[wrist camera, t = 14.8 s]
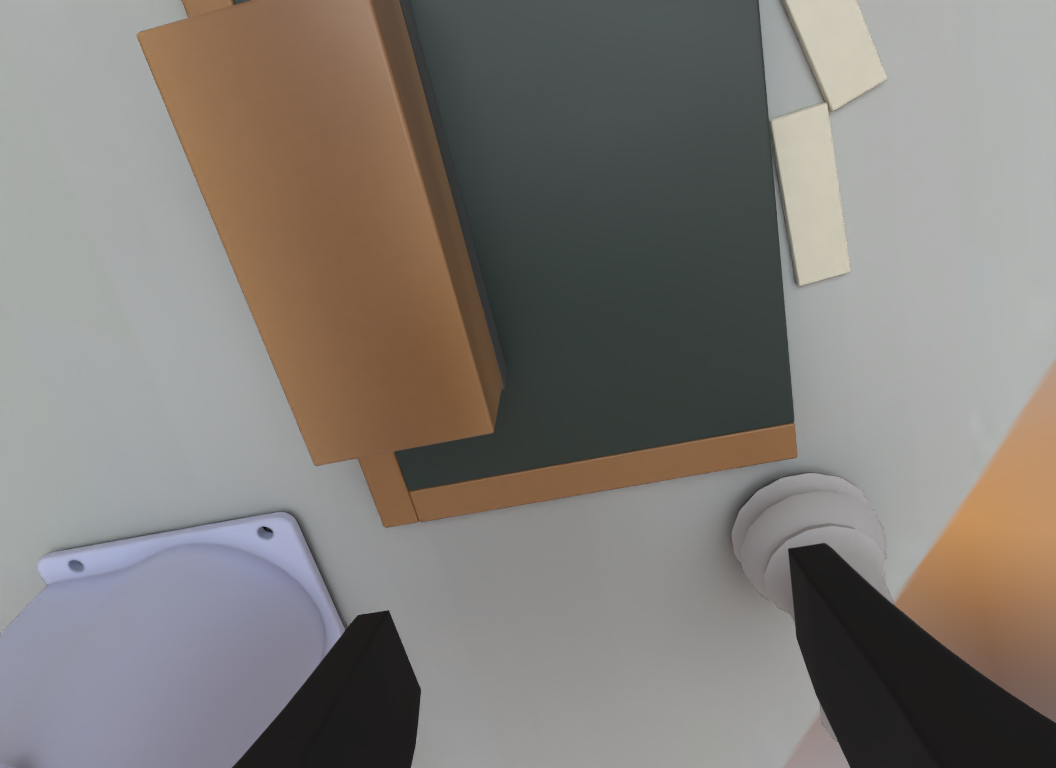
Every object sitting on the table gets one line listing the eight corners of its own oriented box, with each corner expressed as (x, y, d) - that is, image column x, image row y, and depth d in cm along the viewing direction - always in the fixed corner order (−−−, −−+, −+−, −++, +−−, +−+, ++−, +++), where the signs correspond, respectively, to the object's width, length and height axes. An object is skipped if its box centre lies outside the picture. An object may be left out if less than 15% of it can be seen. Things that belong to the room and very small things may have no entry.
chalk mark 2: (846, 268, 19) (851, 272, 19) (794, 283, 19) (799, 287, 19) (822, 101, 17) (827, 102, 17) (765, 119, 18) (770, 120, 17)
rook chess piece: (769, 445, 21) (877, 642, 14) (897, 491, 22) (1064, 703, 15) (704, 554, 23) (770, 777, 16) (823, 593, 24) (939, 827, 16)
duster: (359, 401, 20) (316, 474, 17) (223, 30, 16) (127, 20, 13) (508, 372, 20) (497, 441, 16) (404, -21, 16) (358, -45, 12)
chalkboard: (389, 514, 23) (383, 529, 22) (127, -180, 15) (105, -192, 15) (790, 444, 21) (798, 458, 21) (717, -375, 14) (725, -399, 13)
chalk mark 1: (881, 78, 17) (888, 79, 17) (827, 111, 18) (833, 112, 17) (808, -105, 16) (814, -110, 15) (750, -66, 16) (755, -69, 16)
